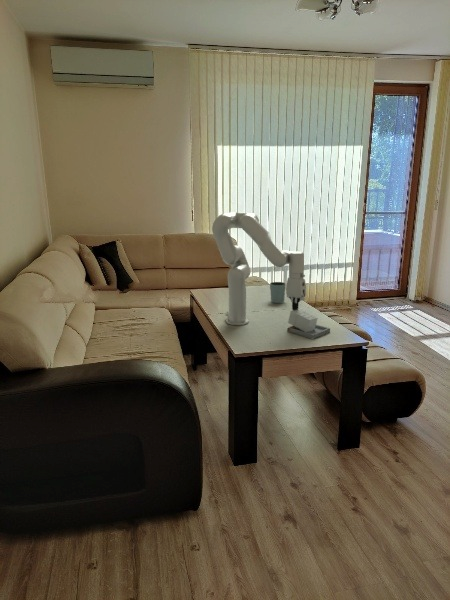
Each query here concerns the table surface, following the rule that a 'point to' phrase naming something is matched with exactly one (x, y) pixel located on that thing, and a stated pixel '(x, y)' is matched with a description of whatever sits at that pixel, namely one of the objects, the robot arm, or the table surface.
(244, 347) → the table surface
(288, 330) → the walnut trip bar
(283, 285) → the drinking glass
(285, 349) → the table surface
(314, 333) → the grey rubber tray
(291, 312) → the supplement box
